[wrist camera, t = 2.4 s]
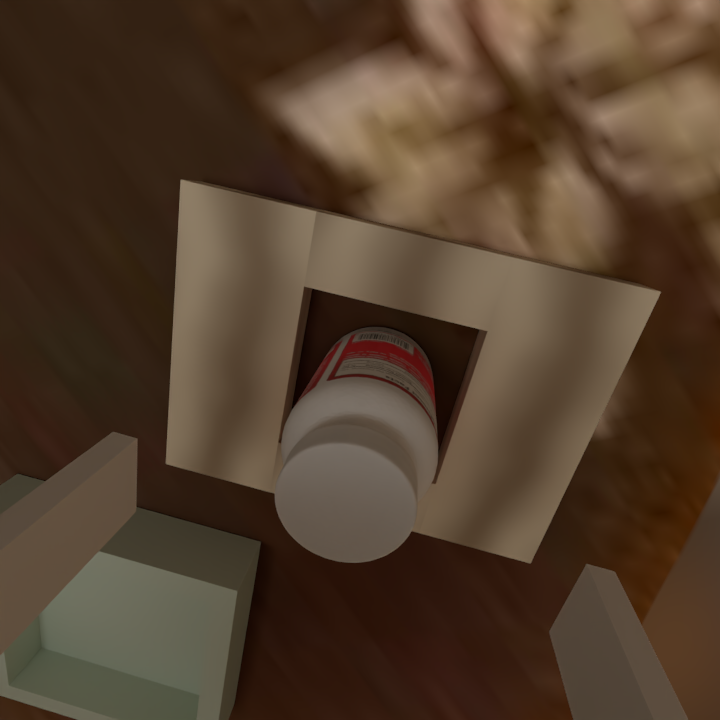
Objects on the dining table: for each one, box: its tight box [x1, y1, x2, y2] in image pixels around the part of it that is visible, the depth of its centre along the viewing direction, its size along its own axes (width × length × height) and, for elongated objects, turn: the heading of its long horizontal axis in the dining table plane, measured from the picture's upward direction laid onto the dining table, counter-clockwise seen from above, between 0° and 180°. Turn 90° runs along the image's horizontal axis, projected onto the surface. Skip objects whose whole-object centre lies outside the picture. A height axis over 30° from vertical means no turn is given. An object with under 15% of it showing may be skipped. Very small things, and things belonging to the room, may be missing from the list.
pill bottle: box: [275, 327, 438, 563], centre depth 19 cm, size 6×6×11 cm
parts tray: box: [0, 474, 261, 720], centre depth 31 cm, size 18×18×4 cm
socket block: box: [166, 180, 661, 564], centre depth 23 cm, size 22×16×2 cm
